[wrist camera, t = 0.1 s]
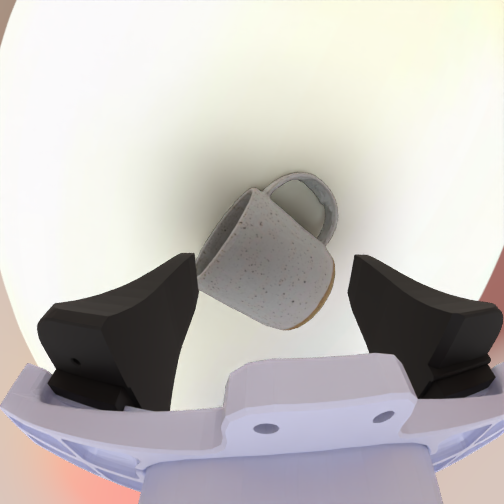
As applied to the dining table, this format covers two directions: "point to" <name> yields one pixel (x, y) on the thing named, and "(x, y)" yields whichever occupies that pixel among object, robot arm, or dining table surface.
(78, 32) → the dining table surface
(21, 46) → the dining table surface
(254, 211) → the ceramic mug
